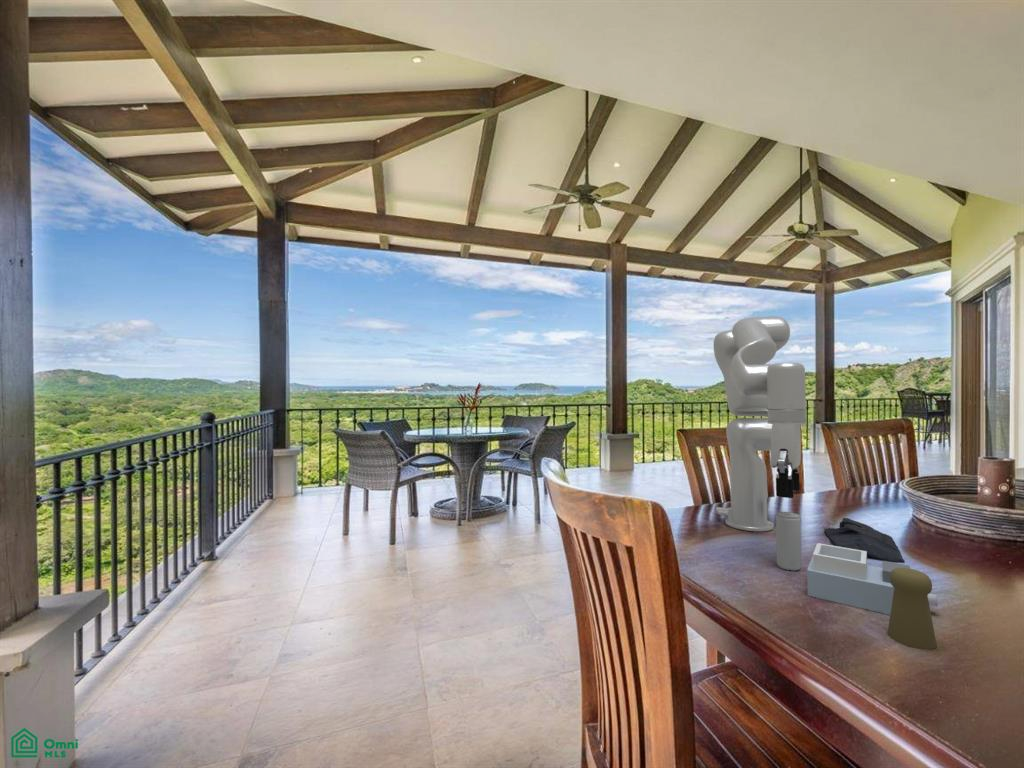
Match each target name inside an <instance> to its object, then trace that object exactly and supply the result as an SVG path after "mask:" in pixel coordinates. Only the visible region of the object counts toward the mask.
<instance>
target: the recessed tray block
mask: <svg viewBox="0 0 1024 768" xmlns="http://www.w3.org/2000/svg"><path fill="white" fill-rule="evenodd" d="M881 561H882V564H881V565H882V567H879V566H875V565H869V564H868V557H867V551H862V550H856V549H850V548H844V547H838V546H836V545H831V544H825V543H820V542H818V543H816V546H815V547H814V550H813V553H812V556H811V559H810V562H809V564H808V567H807V569H806V572H807V576H806V578H807V585H806V586H807V596H808V597H811V596H812V597H811V598H815V597H816V599H819V600H820V599H821V600H825V601H829V602H834V603H839V604H842V605H847V606H851V607H855V608H859V609H864V610H867V609H868V611H873V612H877V613H882V614H885V615H888V616H890V613H891V607H892V600H893V594H894V587H893V586H892V585H891V582H890V573H891V571H892V570H893V569H895V568H909V569H911V565H909V564H904V563H899V562H891V561H886V560H881ZM928 601H929V606H932V607H938V606H939V605H938V595H937V594H936V593H935V594H934V593H932V592H930V593H929V594H928Z"/></svg>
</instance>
